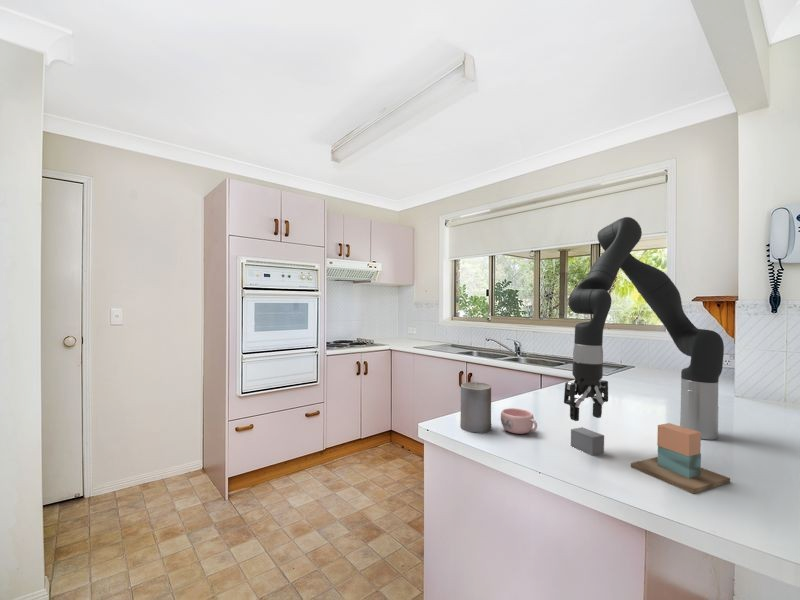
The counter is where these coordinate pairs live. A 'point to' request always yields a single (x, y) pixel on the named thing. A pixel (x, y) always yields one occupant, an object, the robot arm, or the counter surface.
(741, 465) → the counter surface
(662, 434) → the terracotta brick
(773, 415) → the counter surface
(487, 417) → the pillar candle
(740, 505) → the counter surface
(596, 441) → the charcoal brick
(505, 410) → the mug
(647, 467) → the plate
